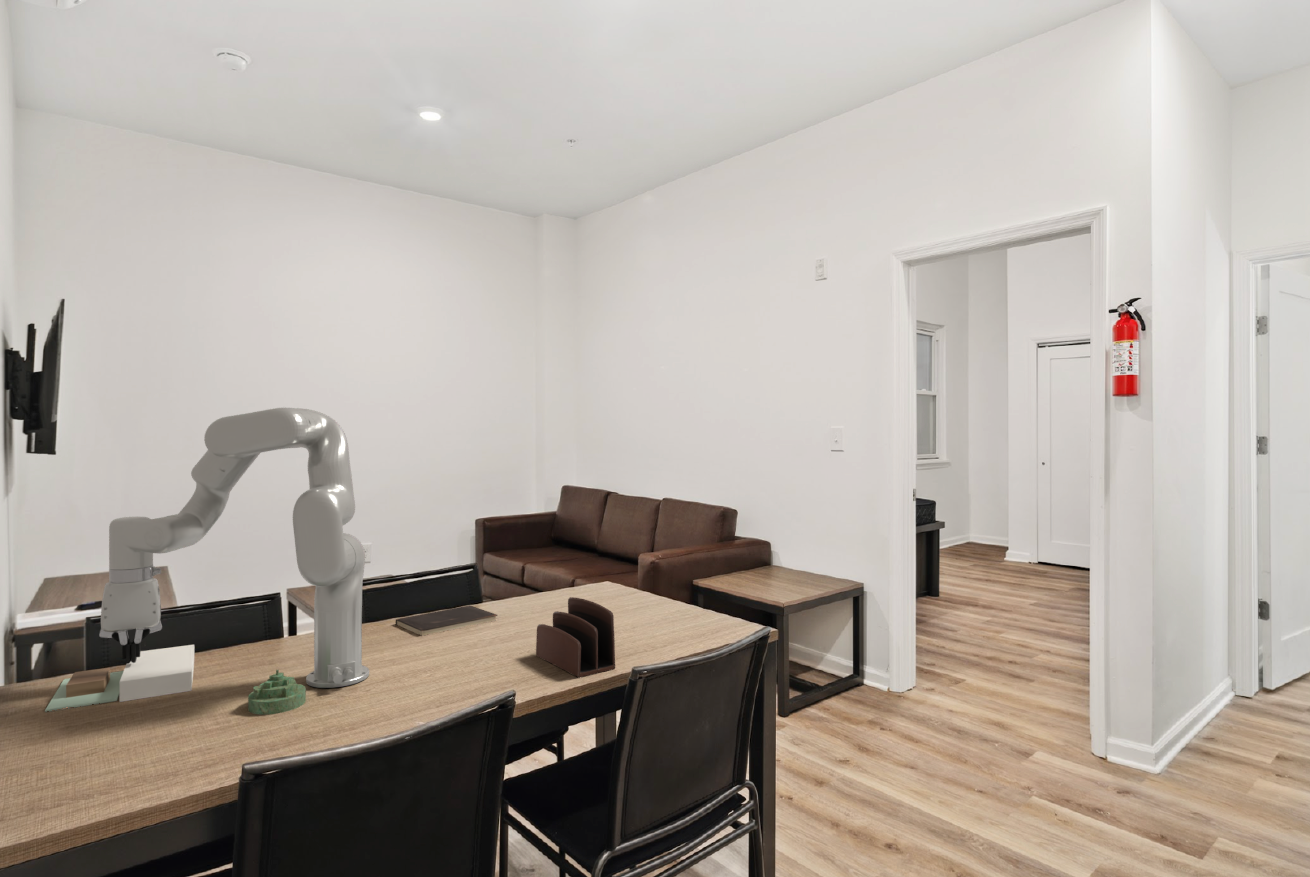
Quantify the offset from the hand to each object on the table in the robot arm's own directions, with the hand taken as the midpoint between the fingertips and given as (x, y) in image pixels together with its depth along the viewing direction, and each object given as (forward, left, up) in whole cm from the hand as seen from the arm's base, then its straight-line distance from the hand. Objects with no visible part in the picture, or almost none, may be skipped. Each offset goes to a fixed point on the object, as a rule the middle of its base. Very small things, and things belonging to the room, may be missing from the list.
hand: (131, 661), depth 151 cm
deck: (0, -5, -5) cm, 7 cm away
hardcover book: (+15, -71, -6) cm, 73 cm away
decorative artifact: (-29, -26, -5) cm, 39 cm away
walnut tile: (0, +7, -3) cm, 8 cm away
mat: (0, +7, -5) cm, 9 cm away
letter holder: (-36, -87, -5) cm, 94 cm away
